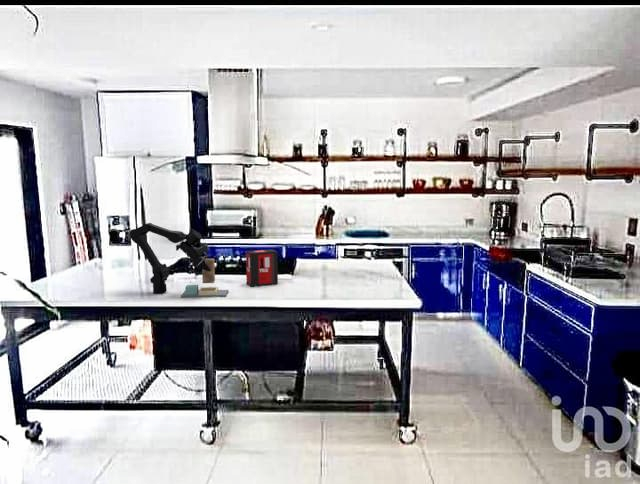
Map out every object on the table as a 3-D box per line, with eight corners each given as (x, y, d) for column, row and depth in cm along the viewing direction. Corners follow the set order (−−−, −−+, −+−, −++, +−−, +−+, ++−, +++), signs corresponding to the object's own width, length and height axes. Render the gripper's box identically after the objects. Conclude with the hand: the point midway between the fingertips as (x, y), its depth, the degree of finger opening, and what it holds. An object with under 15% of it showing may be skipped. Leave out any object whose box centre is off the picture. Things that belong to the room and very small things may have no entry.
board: (181, 297, 276) (180, 288, 275) (185, 292, 288) (184, 283, 287) (226, 296, 278) (226, 287, 277) (228, 291, 290) (228, 282, 289)
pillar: (202, 283, 279) (201, 260, 277) (203, 280, 285) (203, 258, 283) (213, 283, 280) (213, 260, 278) (214, 280, 286) (214, 258, 284)
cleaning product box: (272, 281, 314) (272, 249, 312) (277, 284, 307) (277, 251, 304) (246, 284, 307) (245, 251, 305) (251, 287, 300) (250, 253, 297)
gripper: (197, 242, 269) (219, 262, 272) (202, 237, 288) (222, 256, 290) (183, 257, 270) (205, 277, 272) (188, 251, 288) (208, 270, 291)
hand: (211, 269), depth 282 cm, fingers closed on pillar, 6 cm apart
